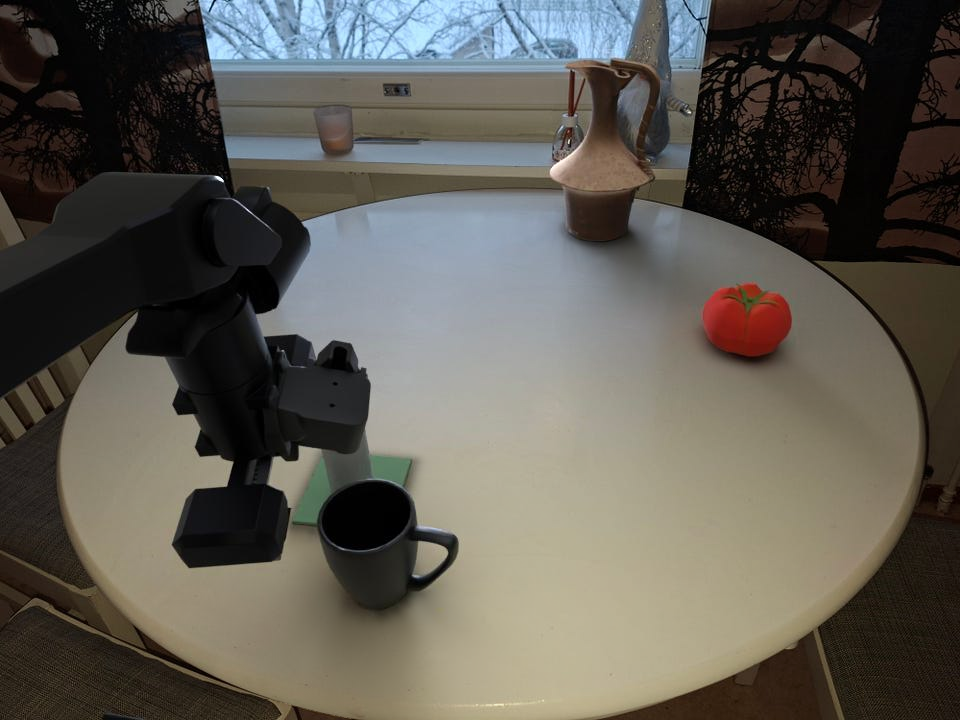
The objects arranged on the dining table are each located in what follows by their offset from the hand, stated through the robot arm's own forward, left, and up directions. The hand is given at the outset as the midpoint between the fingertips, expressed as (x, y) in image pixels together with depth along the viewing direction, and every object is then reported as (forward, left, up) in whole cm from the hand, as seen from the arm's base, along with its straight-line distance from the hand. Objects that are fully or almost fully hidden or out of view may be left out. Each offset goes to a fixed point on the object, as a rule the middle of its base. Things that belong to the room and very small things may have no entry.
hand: (283, 506), depth 53 cm
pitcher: (+82, -3, -13) cm, 83 cm away
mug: (+4, -6, -13) cm, 15 cm away
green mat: (+13, +4, -13) cm, 19 cm away
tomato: (+55, -30, -13) cm, 64 cm away
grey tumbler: (+13, +4, -13) cm, 18 cm away
